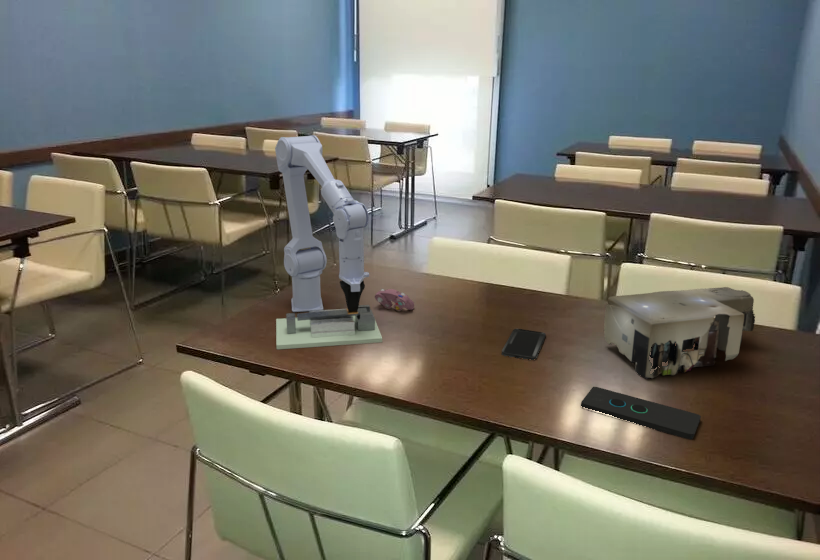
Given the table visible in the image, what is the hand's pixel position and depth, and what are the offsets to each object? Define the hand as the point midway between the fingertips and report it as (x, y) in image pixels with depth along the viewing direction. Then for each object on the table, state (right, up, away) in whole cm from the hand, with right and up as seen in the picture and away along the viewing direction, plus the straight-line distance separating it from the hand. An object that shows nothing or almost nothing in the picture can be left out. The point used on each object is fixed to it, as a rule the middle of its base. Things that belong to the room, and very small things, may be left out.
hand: (352, 310), depth 153 cm
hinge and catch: (-5, -4, 0) cm, 7 cm away
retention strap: (-5, -1, -1) cm, 5 cm away
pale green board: (-6, -5, +1) cm, 8 cm away
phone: (+40, -8, -5) cm, 41 cm away
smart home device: (+56, -18, -33) cm, 68 cm away
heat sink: (-5, -4, 0) cm, 7 cm away
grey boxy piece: (+73, -10, -8) cm, 74 cm away
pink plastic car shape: (+10, -1, +16) cm, 19 cm away
